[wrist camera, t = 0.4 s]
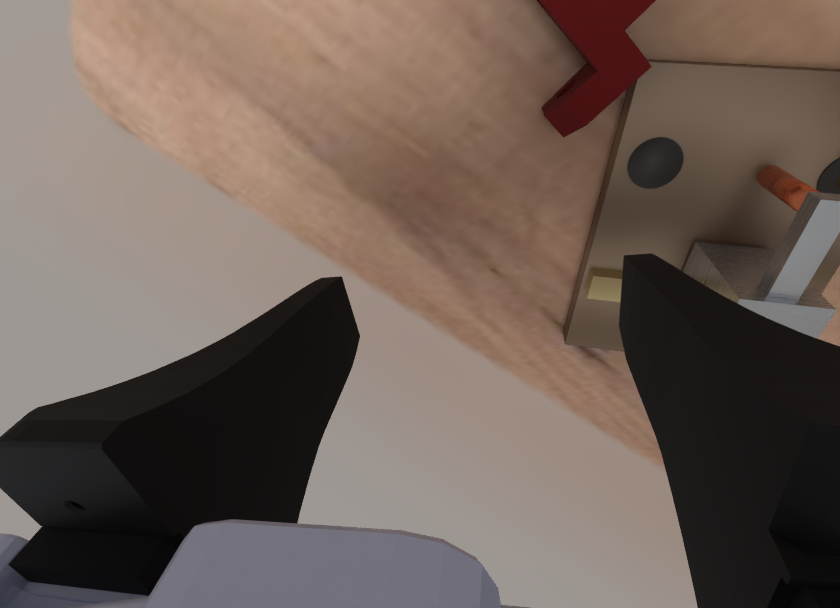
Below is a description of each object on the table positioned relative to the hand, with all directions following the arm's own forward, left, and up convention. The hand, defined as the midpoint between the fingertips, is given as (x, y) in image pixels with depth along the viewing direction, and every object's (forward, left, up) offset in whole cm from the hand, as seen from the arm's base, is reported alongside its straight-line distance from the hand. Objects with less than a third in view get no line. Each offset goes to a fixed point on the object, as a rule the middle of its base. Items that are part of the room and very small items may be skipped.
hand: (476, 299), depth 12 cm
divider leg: (-10, +2, -9) cm, 14 cm away
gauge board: (-10, +2, -10) cm, 14 cm away
